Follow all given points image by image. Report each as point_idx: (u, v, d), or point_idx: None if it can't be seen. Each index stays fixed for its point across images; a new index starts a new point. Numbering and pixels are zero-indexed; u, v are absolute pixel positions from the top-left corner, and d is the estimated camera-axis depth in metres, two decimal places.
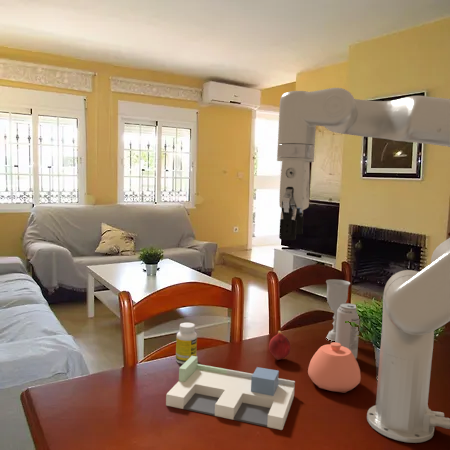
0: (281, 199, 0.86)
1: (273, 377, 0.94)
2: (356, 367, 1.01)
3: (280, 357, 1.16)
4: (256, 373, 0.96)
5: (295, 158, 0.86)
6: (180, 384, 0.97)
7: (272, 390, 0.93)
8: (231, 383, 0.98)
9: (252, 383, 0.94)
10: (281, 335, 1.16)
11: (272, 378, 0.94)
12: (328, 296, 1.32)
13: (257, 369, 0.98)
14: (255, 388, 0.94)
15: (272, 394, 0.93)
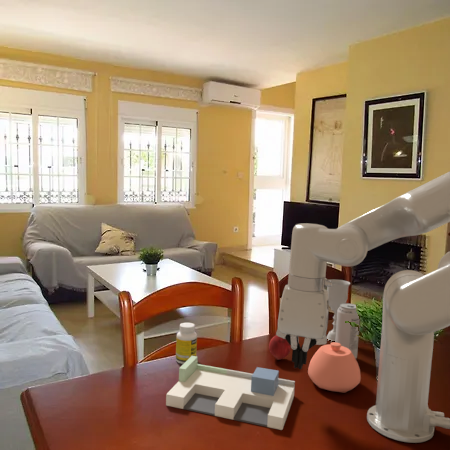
0: (325, 331, 0.89)
1: (273, 377, 0.94)
2: (356, 367, 1.01)
3: (280, 357, 1.16)
4: (256, 373, 0.96)
5: (323, 289, 0.91)
6: (180, 384, 0.97)
7: (272, 390, 0.93)
8: (231, 383, 0.98)
9: (252, 383, 0.94)
10: None
11: (272, 378, 0.94)
12: (328, 296, 1.32)
13: (257, 369, 0.98)
14: (255, 388, 0.94)
15: (272, 394, 0.93)
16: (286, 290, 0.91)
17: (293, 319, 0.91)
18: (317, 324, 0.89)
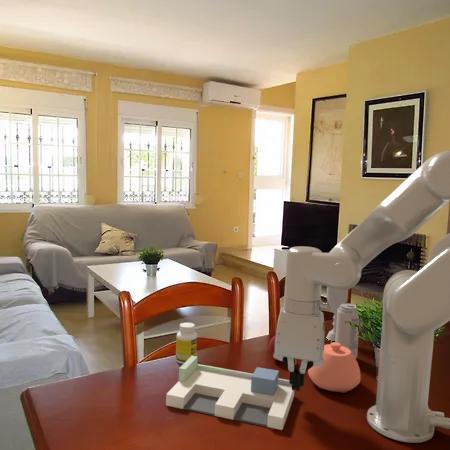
0: (321, 353, 0.90)
1: (273, 377, 0.94)
2: (356, 367, 1.01)
3: None
4: (256, 373, 0.96)
5: (319, 311, 0.92)
6: (180, 384, 0.97)
7: (272, 390, 0.93)
8: (231, 383, 0.98)
9: (252, 383, 0.94)
10: None
11: (272, 378, 0.94)
12: (328, 296, 1.32)
13: (257, 369, 0.98)
14: (255, 388, 0.94)
15: (272, 394, 0.93)
16: (282, 313, 0.91)
17: (290, 342, 0.91)
18: (313, 347, 0.90)
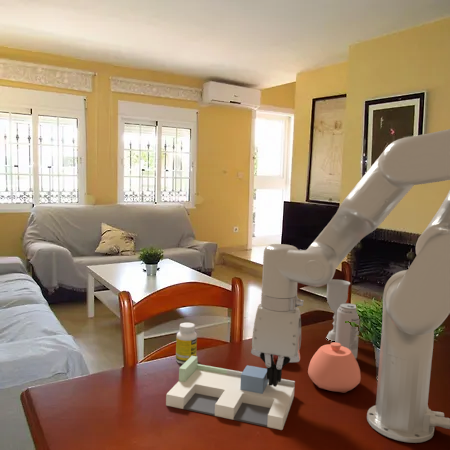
0: (297, 349, 0.92)
1: (262, 375, 0.95)
2: (356, 367, 1.01)
3: None
4: (245, 371, 0.96)
5: (295, 308, 0.93)
6: (180, 384, 0.97)
7: (261, 388, 0.94)
8: (231, 383, 0.98)
9: (241, 381, 0.95)
10: None
11: (261, 376, 0.94)
12: (328, 296, 1.32)
13: (247, 367, 0.99)
14: (244, 386, 0.95)
15: (261, 392, 0.94)
16: (259, 310, 0.93)
17: (267, 338, 0.93)
18: (289, 343, 0.91)
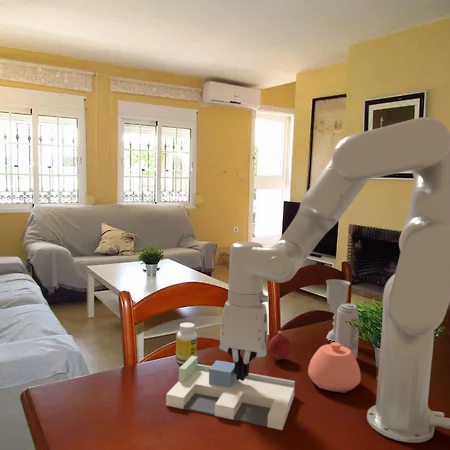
0: (263, 344, 0.94)
1: (230, 369, 0.97)
2: (356, 367, 1.01)
3: (280, 357, 1.16)
4: (214, 366, 0.99)
5: (261, 304, 0.95)
6: (180, 384, 0.97)
7: (229, 382, 0.96)
8: None
9: (210, 375, 0.97)
10: (281, 335, 1.16)
11: (229, 371, 0.97)
12: (328, 296, 1.32)
13: (216, 362, 1.01)
14: (213, 380, 0.97)
15: (229, 386, 0.96)
16: (226, 306, 0.95)
17: (233, 333, 0.95)
18: (255, 338, 0.94)
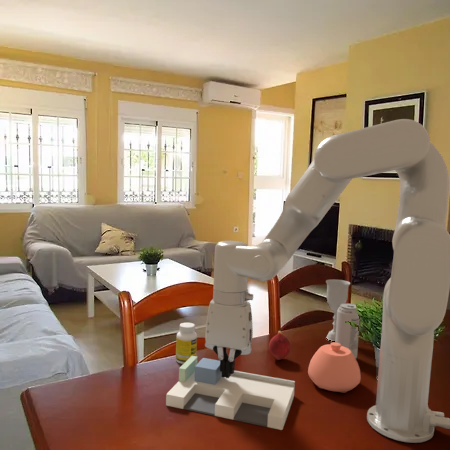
0: (247, 342, 0.95)
1: (216, 367, 0.98)
2: (356, 367, 1.01)
3: (280, 357, 1.16)
4: (200, 363, 1.00)
5: (246, 302, 0.96)
6: (180, 384, 0.97)
7: (214, 379, 0.97)
8: (231, 383, 0.98)
9: (195, 373, 0.98)
10: (281, 335, 1.16)
11: (214, 368, 0.98)
12: (328, 296, 1.32)
13: (202, 359, 1.02)
14: (198, 377, 0.98)
15: (214, 383, 0.97)
16: (211, 304, 0.96)
17: (218, 331, 0.96)
18: (239, 335, 0.95)
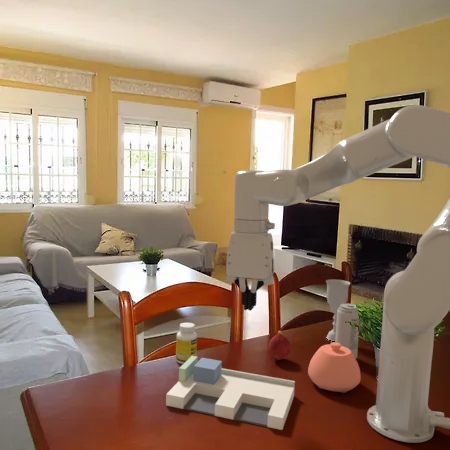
0: (270, 271, 0.94)
1: (215, 367, 0.98)
2: (356, 367, 1.01)
3: (280, 357, 1.16)
4: (199, 363, 1.00)
5: (267, 232, 0.95)
6: (180, 384, 0.97)
7: (213, 379, 0.97)
8: (231, 383, 0.98)
9: (194, 372, 0.99)
10: (281, 335, 1.16)
11: (213, 368, 0.98)
12: (328, 296, 1.32)
13: (201, 359, 1.02)
14: (197, 377, 0.98)
15: (213, 383, 0.97)
16: (232, 235, 0.95)
17: (240, 262, 0.95)
18: (262, 264, 0.93)
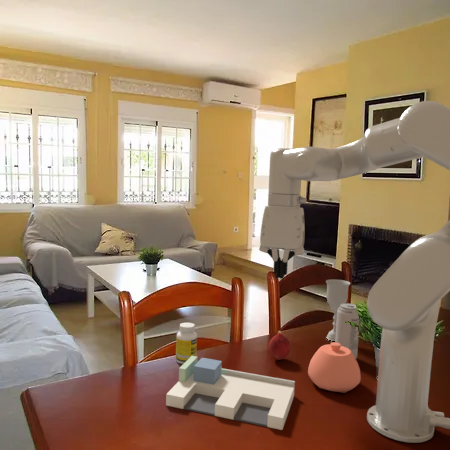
0: (301, 242, 1.01)
1: (215, 367, 0.98)
2: (356, 367, 1.01)
3: (280, 357, 1.16)
4: (199, 363, 1.00)
5: None
6: (180, 384, 0.97)
7: (213, 379, 0.97)
8: (231, 383, 0.98)
9: (194, 372, 0.99)
10: (281, 335, 1.16)
11: (213, 368, 0.98)
12: (328, 296, 1.32)
13: (201, 359, 1.02)
14: (197, 377, 0.98)
15: (213, 383, 0.97)
16: (266, 208, 1.03)
17: (273, 233, 1.03)
18: (294, 236, 1.01)
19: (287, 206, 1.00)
